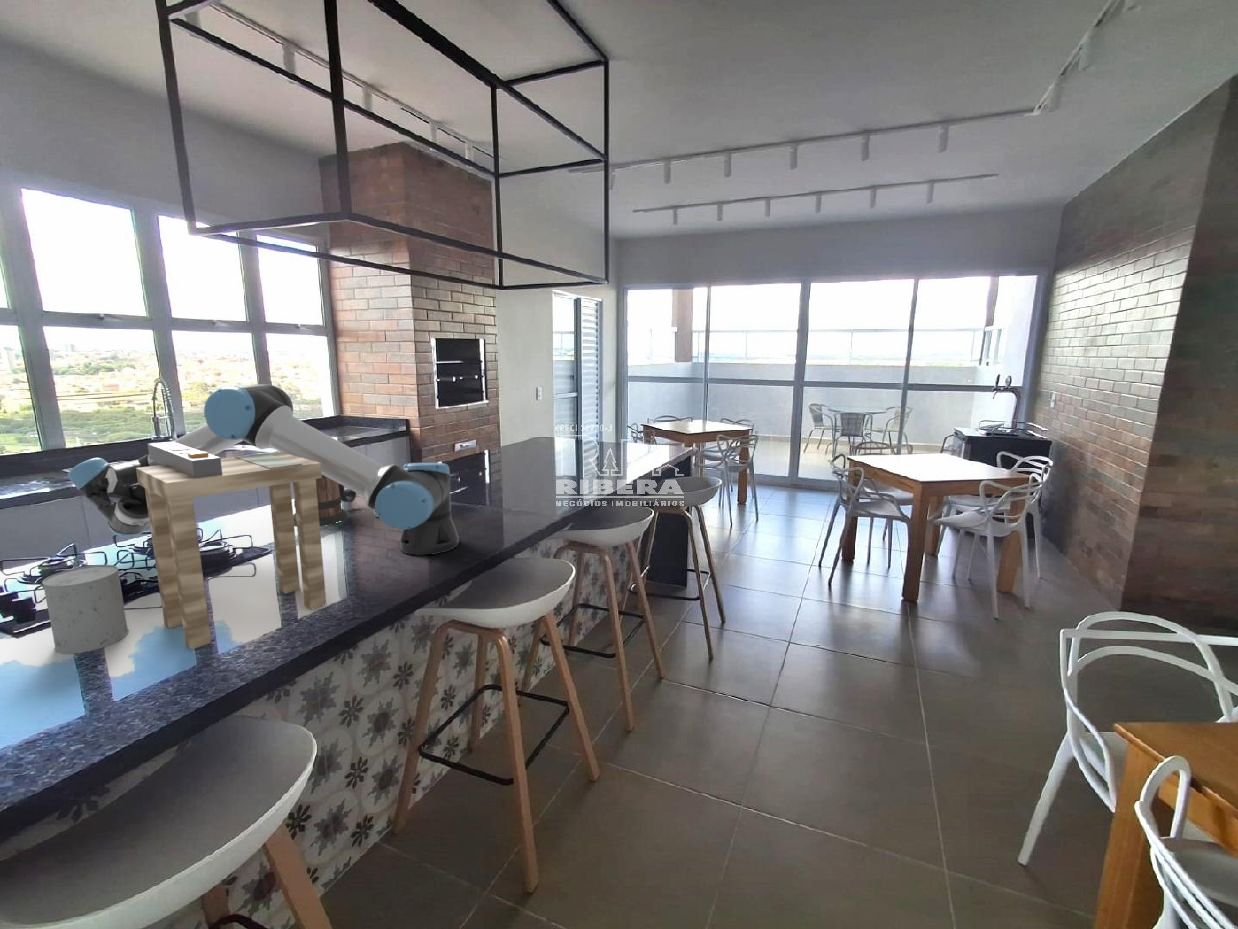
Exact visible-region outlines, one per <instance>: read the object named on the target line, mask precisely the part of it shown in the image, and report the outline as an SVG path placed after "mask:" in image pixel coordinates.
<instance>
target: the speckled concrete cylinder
mask: <svg viewBox="0 0 1238 929" xmlns="http://www.w3.org/2000/svg"><path fill="white" fill-rule="evenodd" d="M41 583H42V586H43V589H44V595H45V601H46V605H47V606H46V607H47V610H48V617H49V622H50V626H51V632H52V633H51V634H52V638H53V643H54V651H55V652H56V653H58V654H64V655H71V654H74V655H75V654H80V653H81V654H82V653H87V652H92V651H95V650H99V649H103V648H106V647H108V646H111V645H113V644H115V643H118V642H119V641H121V640H123V639H124V638H125V637H127V635H128V634H129V629H128V624H127V618H126V617H127V616H126V612H125V604H124V599H123V592H122V587H121V580H120V573H119V567H118V566H116V565H114V564H113V565H112V564H95V565H87V566H81V567H80V566H79V567H76V568H71V569H66V570H64V571H60V572H57V573H55V574H51V575H50V576H47V577H45V578H44V579H43V580H42V582H41Z"/></svg>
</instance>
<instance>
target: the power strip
mask: <svg viewBox="0 0 1238 929" xmlns="http://www.w3.org/2000/svg"><path fill="white" fill-rule="evenodd" d="M147 450H148V454H149V458H150V459H151V460H154V461H156V462H158V463H160V464H163V465H165V466H167V467H170V468H172V469H174V470H177V471H179V472H181V473H184V474H186V475H188V476H190V477H193V478H200V477H208V476H216V475H222V467H221V459H222V458H221V457H220V456H217V455H211V454H208V452H205V451H203V452H202V451H199V450H196V449H194V448H191V447H188V446H185V445H182V444H179V443H176V442H172V441H165V442H164V441H162V442H151V443H150V442H149V443H147Z"/></svg>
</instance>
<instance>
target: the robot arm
mask: <svg viewBox="0 0 1238 929" xmlns="http://www.w3.org/2000/svg"><path fill="white" fill-rule="evenodd" d="M203 414H204V415H203V416H204V418H205V422H206V423H205V424H203V425H202V426H200V427H198V428H196V429H193V430H192V431H190V432H188V433H186V434H184V435H182V436H180V437H179V438H178V437H177V438H176V439H174V440H173V441H171V442H176V443H179V444H182V445H185V446H188V447H191V448H194V449H196V450H199V451H202V452H203V451H205V452H208V454H211V455H214V456H216V455H218V454H220V453H221V452H223V451H225V450H227V449H229V448H231V447H233V446H235V445H236V444H240V443H241V442H243V441H244V442H246V443H248V444H249V445H251V446H254V447H256V448H257V449H259V450H265V449H266V450H267V449H270V448H271V449H274V450H275V451H277V452H283V453H286V454H290V455H294V456H297V457H301V458H305V459H308V460H312V461H316V462H319V463H321V474H322V475H324V476H326V477H328V478H330V479H332V480H333V481H335V482H337V483H339V484H341V485H343V486H344V488H347V489H350V490H352V491H354V492H356V494H357V495H360V496H361V497H363V498H364V499H365V504H366V506H367V507H369V508H370V509H372V510H373V511H374V510H376V512H377V514H378V517H379V518H378V519H379V520H380V521H381V522H382V523H383V524H385V525H386V526H388V527H390V528H392V529H395V530H402V532H401V537H400V539H399V548H400V549H401V550H400V551H401V552H402V551H403V552H402V553H404V552H407V553H409V554H408V555H411V554H416V555H415V556H424V555H423V554H432V553H437V552H443V551H446V550H449V549H451V548H453V547H454V546H457V545H458V543H459V544H460V539H459V538H460V537H459V534H458V531H457V527H456V526H455V523H454V521H453V517H452V499H451V498H452V497H451V496H452V495H451V473H450V467H449V465H448V464H447V463H442V462H411V463H409V462H408V463H405V464H404V465H403V466H402V467H400V466H398V465H396V464H394V463H393V464H389V465H383V464H381V463H380V462H377V461H376V460H374V459H372V458H370V457H368V456H367V455H365V454H363V453H361V452H359V451H357V450H355V449H353V448H352V447H350V446H348V445H346V444H345V443H343V442H341V441H339V440H338V439H335V437H334V438H333V437H332V436H330V435H328V434H326V433H324V432H323V431H321V430H319V429H317V428H316V427H313V426H311V425H309V424H308V423H306V422H304V421H302V420H300V419H299V418H296V417H295V416H294V405H293V401H292V399H291V397H290V396H289V394H287V392H285V390H283V389H282V388H280V387H278V386H275V385H272V384H269V383H268V384H267V383H260V384H250V385H249V384H248V385H247V384H246V385H244V384H243V385H227V386H225V387H221V388H218V389H216V390H214V391H213V392H211V393H210V395H209V396H208V397H207V399H206V401H205V403H204V408H203ZM158 465H163V464H160V463H158V462H156V461H154V460H151V459H150V458H149V453H147V454H146V455H144V456H141V457H139V458H137V459H134V460H131V461H127V462H122V463H121V462H120V463H117V464H110V463H109V462H108V461H107V460H105V459H104V458H101V457H93V458H90V459H87V460H85V461H82V462H80V463H77V465H74V466H73V468H71V469H70V470H69V471H68V473H67V477H68V479H69V480H70V482H71V483H72V484H73V485H74V486H75V488H76V490H78V491H80V493H81V494H82V495H83V496H84V497H85V498H86V499H87V500H88V501H89V503H91V504H92V505H93V507H95V508H96V509H97V510H98V512H99V513H100V514H101V515H102V517H104V518H105V520H107V524H108V528H109V530H110V531H111V533H113V534H114V535H116V536H118V537H119V538H120V537H121V538H134V537H137V536H140V535H141V534H143V533H144V532H145V531H146V530H147V529H148V528H150V521H149V514H148V507H147V500H146V494H145V488H144V487H143V486H141V485H139V484H138V479H137V472H136V468H140V467H149V466H158ZM458 546H459V545H458ZM417 554H418V555H417Z"/></svg>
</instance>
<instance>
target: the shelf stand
mask: <svg viewBox="0 0 1238 929" xmlns="http://www.w3.org/2000/svg"><path fill="white" fill-rule="evenodd" d="M221 467H222V475H216V476H208V477H200V478H193V477H190V476H188V475H186V474H184V473H181V472H179V471H177V470H174V469H172V468H170V467H167V466H165V465H158V466H149V467H140V468H136V472H137V479H138V484H139V485H141V486H143V487H144V488H145V494H146V500H147V507H148V514H149V521H150V527H149V528H150V534H151V539H152V546H153V548H152V549H153V554H154V560H155V568H156V573H157V580H158V581H157V582H158V587H159V588H158V590H159V594H160V601H161V602H160V603H161V609H162V616H163V622H164V624H165V625H166V627H167V628H169V629H173V628H176V627H179V626H182V629H183V636H184V638H183V639H184V644H185V645H186V646H187V647H188V649H190V650H194V649H196V648H200V647H203V646H206V645H208V644H209V645H210V644H211V643H212V636H211V629H210V628H211V627H210V621H209V620H210V619H209V614H208V606H207V597H206V589H205V584H204V583H205V582H204V574H203V566H202V560H201V551H200V543H199V537H198V536H199V535H198V529H197V528H198V527H197V520H196V513H195V512H196V511H195V506H194V498H199V497H205V496H212V495H219V494H224V493H225V494H226V493H232V492H237V491H238V492H239V491H244V490H245V491H246V490H249V489H250V490H251V489H257V488H264V487H268V490H269V491H268V493H269V501H270V510H271V520H272V522H271V523H272V531H273V533H272V534H273V540H274V542H273V543H274V552H275V558H276V560H275V561H276V570H277V571H276V572H277V579H278V589H279V591H280V592H282V593H284V594H285V595H286V594H288V593H289V594H290V593H292V592H295V591H300V590H301V585H302V593H303V594H302V595H303V604H304V607H305V608H308V609H309V608H310V609H309V610H311V609H312V610H314V609H313V608H315V609H317V608H316V607H318V608H320V606H321V607H323V605H324V606H326V605H327V597H326V596H327V595H326V585H325V583H326V582H325V573H324V562H323V560H324V559H323V550H322V537H321V528H320V527H321V526H320V524H319V512H318V500H317V488H316V479H317V478H322V475H321V463H319V462H316V461H312V460H308V459H305V458H301V457H297V456H294V455H290V454H286V453H283V452H279V451H277V452H276V451H275V452H269V453H268V452H267V453H265V452H264V453H255V454H254V453H253V454H246V455H237V456H233V457H223V458H221ZM291 483H292V486H293V495H294V501H295V507H294V508H295V513H296V520H297V527H296V529H297V530H296V529H295V526H294V519H293V515H294V512H293V502H292V501H293V499H292V489H291V488H292V487H291ZM295 530H296V531H297V539H298V540H297V541H296V532H295ZM297 542H298V549H299V550H298V551H299V552H298V551H297ZM297 552H298V553H299V561H300V562H299V563H300V572H301V583H302V584H301V585H300V576H299V575H300V573H299V563H298V553H297ZM325 604H326V605H325Z"/></svg>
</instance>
